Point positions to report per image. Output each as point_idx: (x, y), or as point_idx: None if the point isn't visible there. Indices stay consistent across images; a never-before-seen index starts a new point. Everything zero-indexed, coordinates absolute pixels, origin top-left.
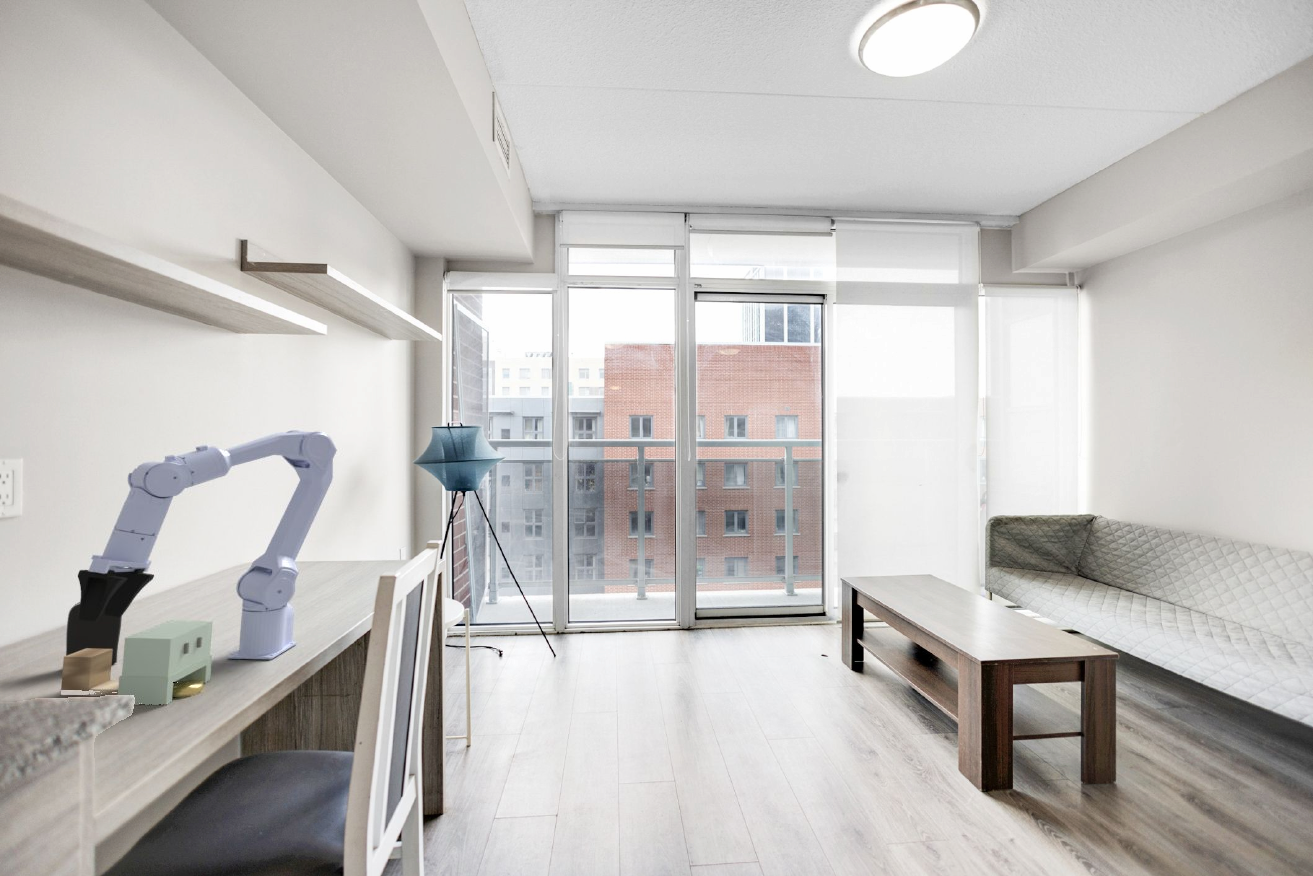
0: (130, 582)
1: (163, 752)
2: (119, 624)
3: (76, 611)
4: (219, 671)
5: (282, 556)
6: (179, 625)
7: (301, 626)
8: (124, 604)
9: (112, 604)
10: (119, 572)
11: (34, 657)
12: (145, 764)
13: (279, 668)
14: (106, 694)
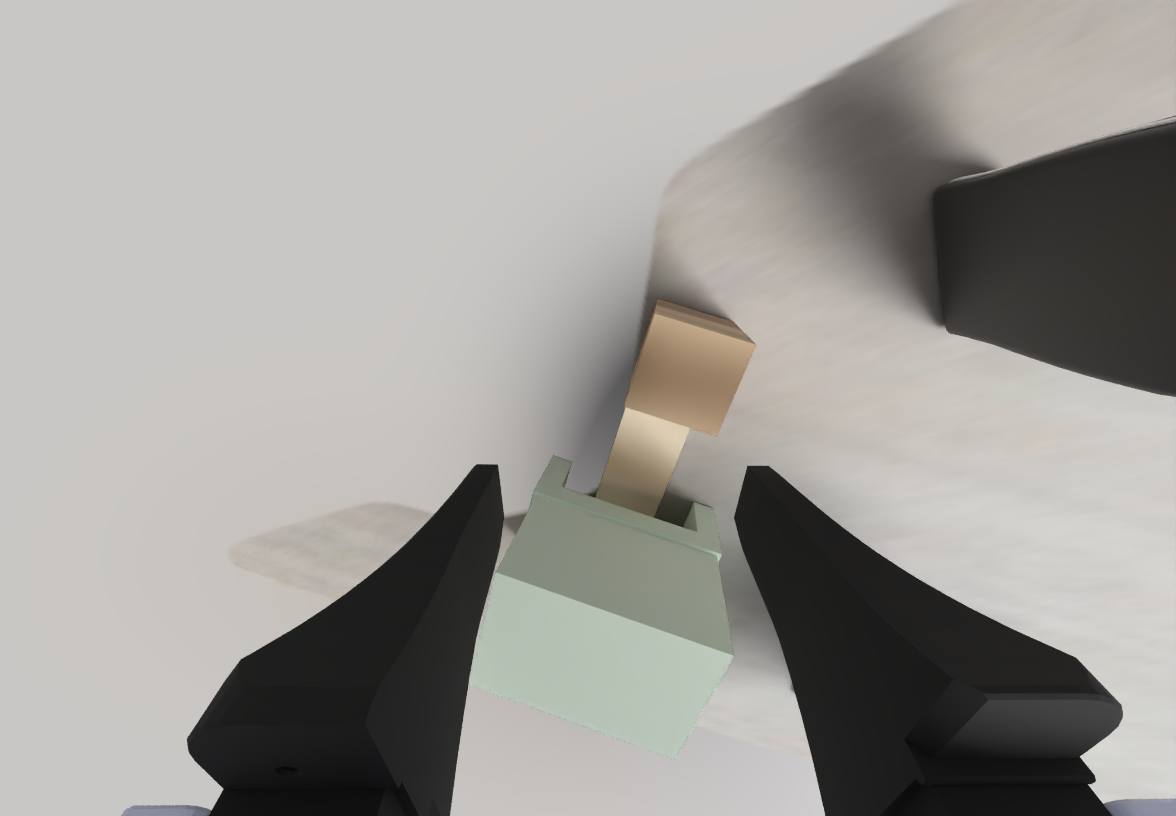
0: (832, 712)
1: (327, 582)
2: (1076, 371)
3: None
4: (743, 604)
5: None
6: (637, 686)
7: None
8: (758, 572)
9: (770, 522)
10: (933, 740)
11: None
12: (291, 569)
13: (719, 707)
14: (623, 413)
